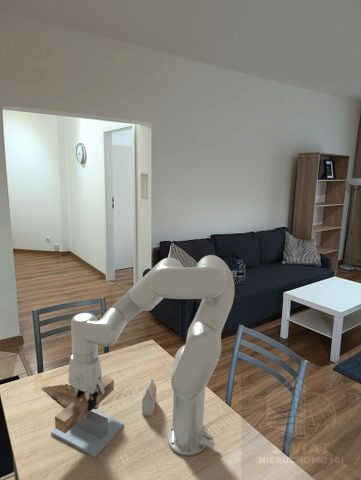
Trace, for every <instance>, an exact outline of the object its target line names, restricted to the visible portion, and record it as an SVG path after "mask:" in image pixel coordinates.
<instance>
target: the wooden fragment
mask: <svg viewBox="0 0 361 480" xmlns="http://www.w3.org/2000/svg"><path fill="white" fill-rule="evenodd" d="M41 389H42V390H43V392H45V393H47V394H48V395H49V396H51V397H52V399H53V398H54V400H56V401H57V402H58V403H59V404H61V405H62V406H63V407H64V409H65V408H66V407H67V406H68V405H70V404H71V403H72V402H73V401H75V400H76V399H77V394H76V393H75V389H74V387H72V386H71V385H70V384H69V383H66V384H57V385H51V386H43V387H41ZM100 403H101V402H100ZM100 403H99V404H98V405H97V406H96V407H95V408H97V409H98V408H99V405H100Z"/></svg>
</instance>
